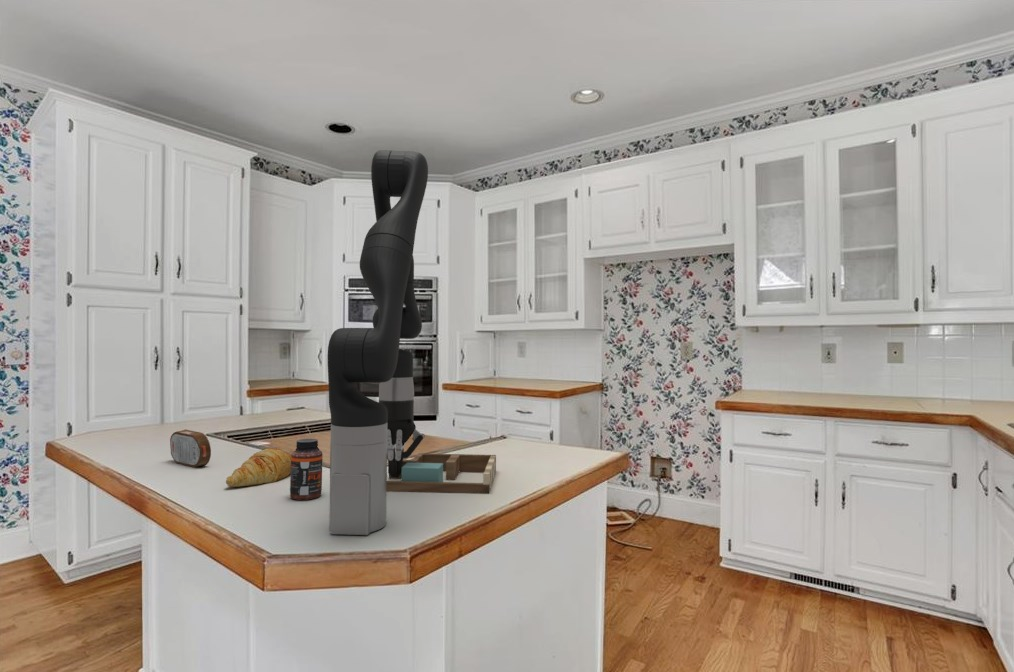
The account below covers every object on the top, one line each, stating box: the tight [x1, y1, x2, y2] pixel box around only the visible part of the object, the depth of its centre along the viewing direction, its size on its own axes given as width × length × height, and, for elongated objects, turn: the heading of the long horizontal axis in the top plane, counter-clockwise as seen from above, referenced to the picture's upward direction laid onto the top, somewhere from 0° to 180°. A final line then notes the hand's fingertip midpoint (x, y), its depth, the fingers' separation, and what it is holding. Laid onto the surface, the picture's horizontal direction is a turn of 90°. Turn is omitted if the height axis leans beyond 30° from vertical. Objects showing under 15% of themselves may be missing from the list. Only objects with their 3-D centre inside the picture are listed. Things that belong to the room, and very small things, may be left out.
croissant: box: [225, 447, 291, 488], centre depth 120 cm, size 21×10×8 cm, turn 162°
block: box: [400, 463, 444, 482], centre depth 115 cm, size 5×8×4 cm, turn 86°
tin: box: [169, 429, 212, 468], centre depth 133 cm, size 15×3×8 cm, turn 58°
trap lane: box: [387, 453, 497, 494], centre depth 119 cm, size 19×24×4 cm
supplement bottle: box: [289, 438, 323, 501], centre depth 106 cm, size 6×6×11 cm
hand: (395, 476), depth 116 cm, fingers closed
